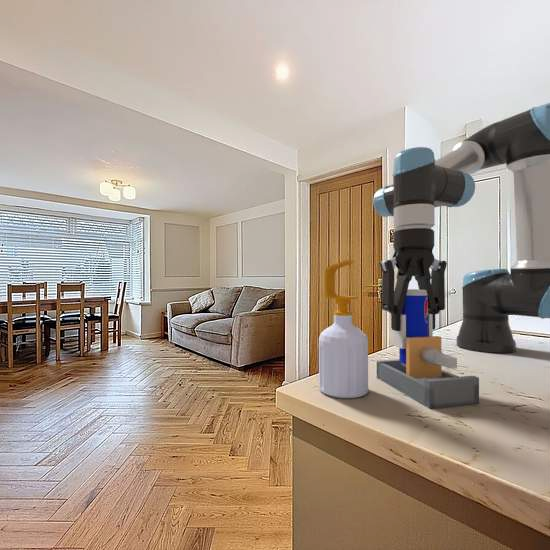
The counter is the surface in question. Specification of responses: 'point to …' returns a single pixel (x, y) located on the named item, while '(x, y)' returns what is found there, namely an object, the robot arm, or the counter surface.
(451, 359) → the pusher
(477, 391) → the grey tray
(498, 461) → the counter surface
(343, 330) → the soap bottle
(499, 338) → the robot arm
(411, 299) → the beverage can
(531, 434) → the counter surface
